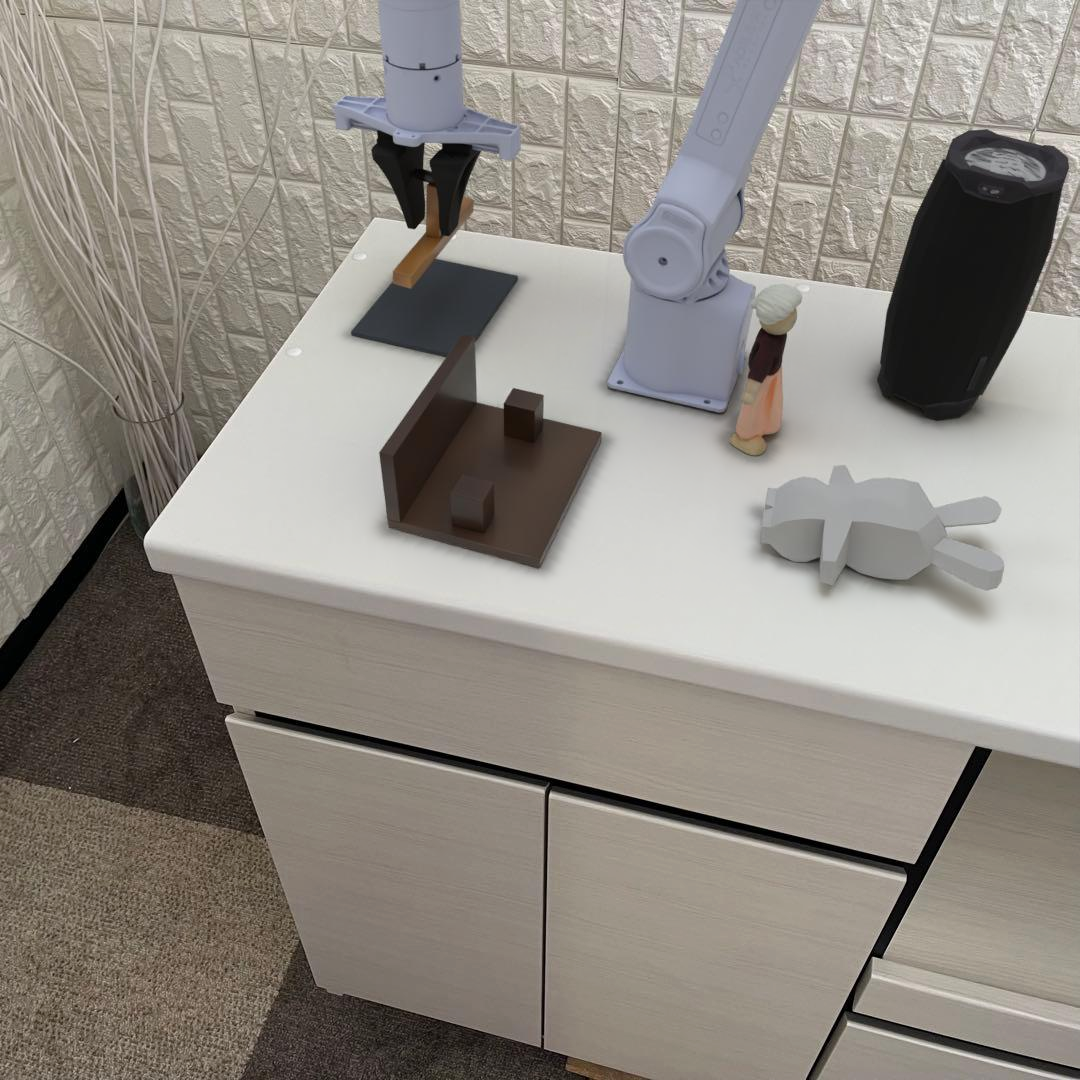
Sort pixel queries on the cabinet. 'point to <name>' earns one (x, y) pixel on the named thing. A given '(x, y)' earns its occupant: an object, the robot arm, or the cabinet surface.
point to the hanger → (428, 235)
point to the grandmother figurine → (766, 368)
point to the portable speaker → (969, 270)
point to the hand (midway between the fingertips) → (432, 226)
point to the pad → (436, 308)
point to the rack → (482, 466)
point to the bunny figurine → (876, 529)
